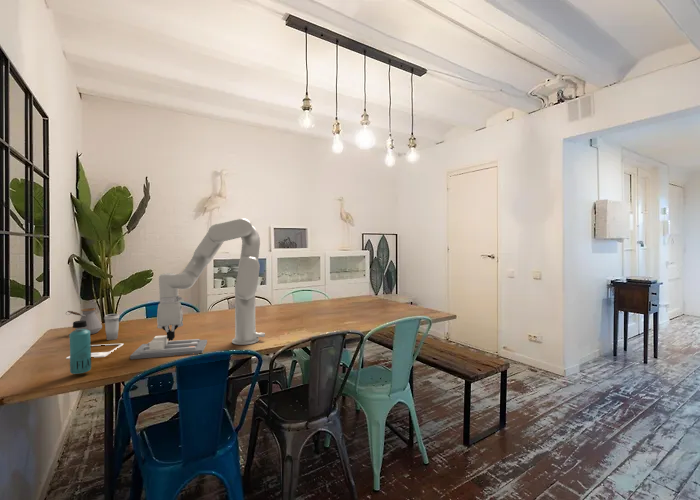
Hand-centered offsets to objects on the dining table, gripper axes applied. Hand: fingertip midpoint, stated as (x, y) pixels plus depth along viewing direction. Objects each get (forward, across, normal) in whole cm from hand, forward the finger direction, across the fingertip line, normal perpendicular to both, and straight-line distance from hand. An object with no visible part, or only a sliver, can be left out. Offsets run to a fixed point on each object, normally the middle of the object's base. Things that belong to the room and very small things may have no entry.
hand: (171, 339), depth 161 cm
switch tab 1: (+2, +4, 0) cm, 5 cm away
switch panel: (+4, -1, +4) cm, 5 cm away
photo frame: (+4, +31, -4) cm, 32 cm away
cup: (+3, +32, -25) cm, 41 cm away
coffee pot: (+3, +49, -36) cm, 61 cm away
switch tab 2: (+2, +4, +7) cm, 8 cm away
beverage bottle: (+3, +25, +26) cm, 36 cm away
